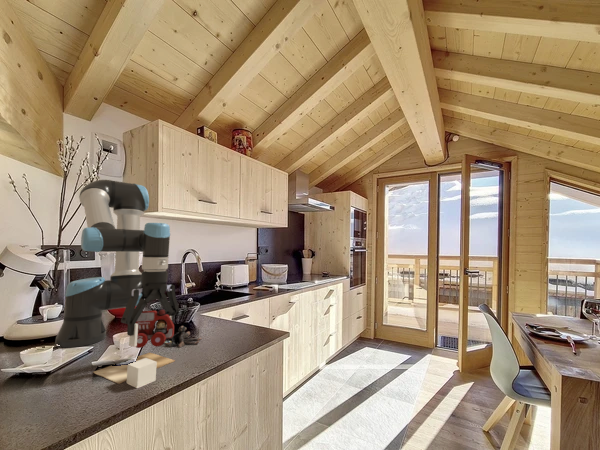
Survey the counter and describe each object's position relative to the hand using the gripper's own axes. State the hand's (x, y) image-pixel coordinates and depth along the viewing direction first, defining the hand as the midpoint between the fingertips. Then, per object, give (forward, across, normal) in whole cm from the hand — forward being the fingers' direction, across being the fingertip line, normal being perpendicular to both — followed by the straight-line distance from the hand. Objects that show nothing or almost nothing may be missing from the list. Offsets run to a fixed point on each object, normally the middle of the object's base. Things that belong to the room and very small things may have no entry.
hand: (151, 340), depth 87 cm
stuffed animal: (+7, +17, +7) cm, 20 cm away
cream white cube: (+7, -9, -10) cm, 15 cm away
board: (+7, -4, 0) cm, 8 cm away
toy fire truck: (+1, 0, 0) cm, 1 cm away
